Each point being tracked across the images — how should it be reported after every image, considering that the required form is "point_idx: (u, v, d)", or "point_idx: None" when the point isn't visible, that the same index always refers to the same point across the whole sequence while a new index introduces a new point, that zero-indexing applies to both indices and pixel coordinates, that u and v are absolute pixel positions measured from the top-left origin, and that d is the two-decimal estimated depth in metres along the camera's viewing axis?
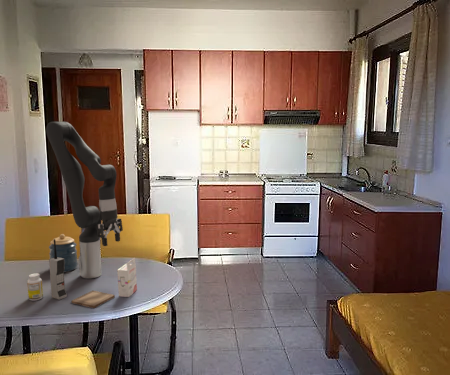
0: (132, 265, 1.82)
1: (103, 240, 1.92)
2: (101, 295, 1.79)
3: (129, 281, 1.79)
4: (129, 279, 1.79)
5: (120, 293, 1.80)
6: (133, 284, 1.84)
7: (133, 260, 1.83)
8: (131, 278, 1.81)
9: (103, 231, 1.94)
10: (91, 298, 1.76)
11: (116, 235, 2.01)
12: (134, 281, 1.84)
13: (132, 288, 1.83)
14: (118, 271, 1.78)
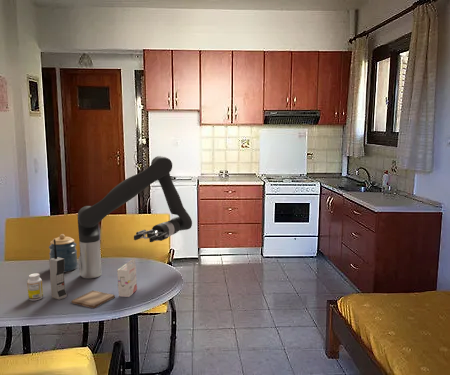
0: (132, 265, 1.82)
1: (155, 239, 1.91)
2: (101, 295, 1.79)
3: (129, 281, 1.79)
4: (129, 279, 1.79)
5: (120, 293, 1.80)
6: (133, 284, 1.84)
7: (133, 260, 1.83)
8: (131, 278, 1.81)
9: (157, 235, 1.94)
10: (91, 298, 1.76)
11: (139, 236, 1.95)
12: (134, 281, 1.84)
13: (132, 288, 1.83)
14: (118, 271, 1.78)
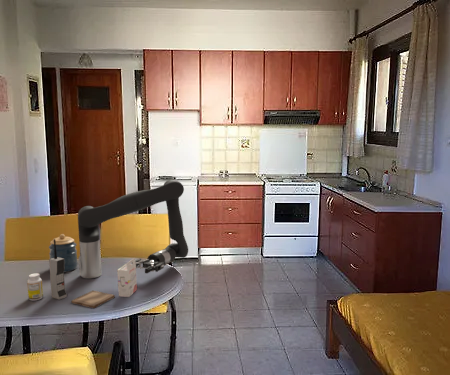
0: (132, 265, 1.82)
1: (151, 270, 1.89)
2: (101, 295, 1.79)
3: (129, 281, 1.79)
4: (129, 279, 1.79)
5: (120, 293, 1.80)
6: (133, 284, 1.84)
7: (133, 260, 1.83)
8: (131, 278, 1.81)
9: (153, 265, 1.93)
10: (91, 298, 1.76)
11: None
12: (134, 281, 1.84)
13: (132, 288, 1.83)
14: (118, 271, 1.78)
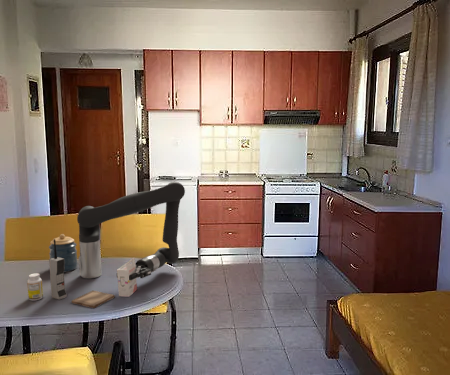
0: (132, 265, 1.82)
1: (135, 276, 1.81)
2: (101, 295, 1.79)
3: (129, 281, 1.79)
4: None
5: (120, 293, 1.80)
6: (133, 283, 1.84)
7: (133, 260, 1.83)
8: None
9: (139, 271, 1.85)
10: (91, 298, 1.76)
11: None
12: (134, 280, 1.84)
13: (132, 288, 1.83)
14: (118, 271, 1.78)
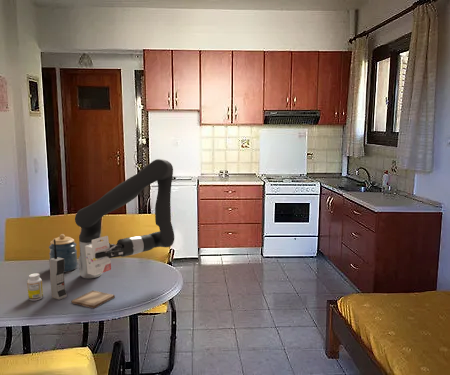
0: (102, 243, 1.73)
1: (103, 255, 1.72)
2: (101, 295, 1.79)
3: (95, 259, 1.71)
4: None
5: (88, 270, 1.73)
6: (104, 263, 1.75)
7: (104, 238, 1.74)
8: None
9: (111, 251, 1.75)
10: (91, 298, 1.76)
11: None
12: (105, 260, 1.75)
13: (101, 267, 1.74)
14: (85, 247, 1.72)
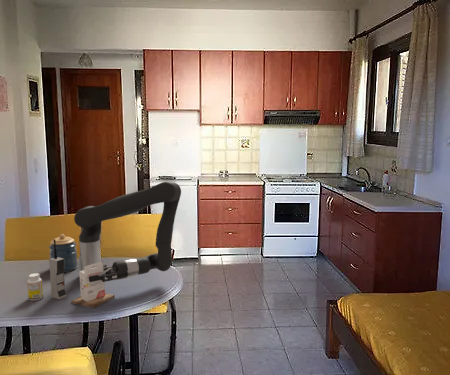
0: (95, 269, 1.74)
1: (96, 279, 1.72)
2: None
3: (87, 285, 1.72)
4: (88, 283, 1.72)
5: (81, 295, 1.75)
6: (97, 289, 1.75)
7: (98, 264, 1.75)
8: (93, 283, 1.74)
9: (105, 274, 1.74)
10: None
11: None
12: (99, 286, 1.76)
13: (94, 293, 1.74)
14: (79, 273, 1.74)
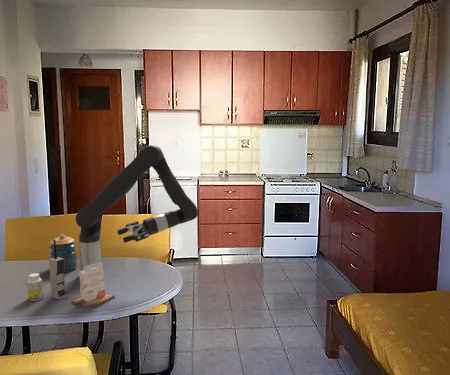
0: (95, 269, 1.74)
1: (130, 239, 1.82)
2: None
3: (87, 285, 1.72)
4: (88, 283, 1.72)
5: (81, 295, 1.75)
6: (97, 289, 1.75)
7: (98, 264, 1.75)
8: (93, 283, 1.74)
9: (137, 233, 1.84)
10: None
11: (124, 230, 1.89)
12: (99, 286, 1.76)
13: (94, 293, 1.74)
14: (79, 273, 1.74)
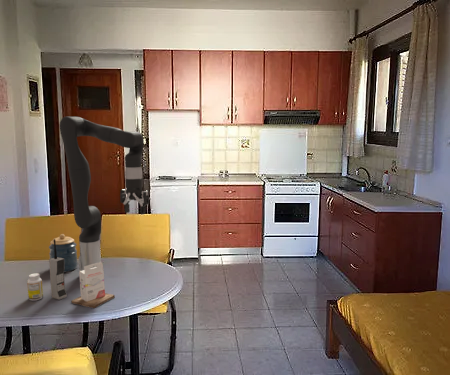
0: (95, 269, 1.74)
1: (144, 208, 1.89)
2: None
3: (87, 285, 1.72)
4: (88, 283, 1.72)
5: (81, 295, 1.75)
6: (97, 289, 1.75)
7: (98, 264, 1.75)
8: (93, 283, 1.74)
9: (140, 199, 1.88)
10: None
11: (127, 206, 1.93)
12: (99, 286, 1.76)
13: (94, 293, 1.74)
14: (79, 273, 1.74)
